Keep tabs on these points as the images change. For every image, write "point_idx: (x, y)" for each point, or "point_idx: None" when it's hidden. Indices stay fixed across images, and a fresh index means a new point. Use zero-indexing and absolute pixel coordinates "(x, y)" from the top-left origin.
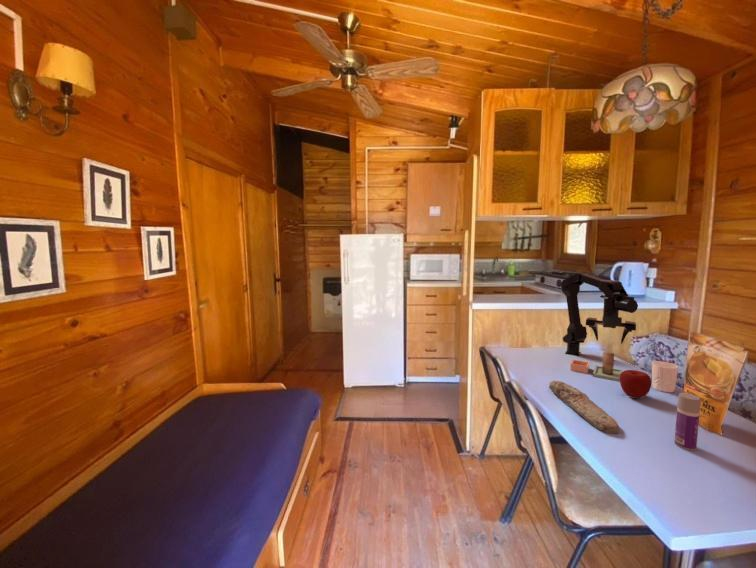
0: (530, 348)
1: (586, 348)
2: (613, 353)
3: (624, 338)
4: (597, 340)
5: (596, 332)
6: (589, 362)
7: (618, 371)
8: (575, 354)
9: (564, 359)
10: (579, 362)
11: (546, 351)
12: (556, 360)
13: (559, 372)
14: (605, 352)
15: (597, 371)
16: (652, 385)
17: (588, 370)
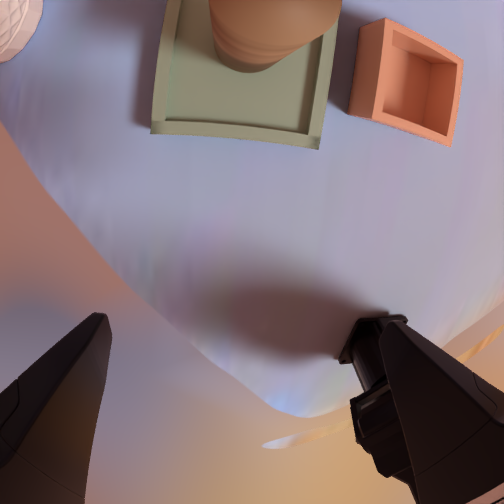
0: (484, 311)
1: (301, 408)
2: (213, 8)
3: (31, 366)
4: (393, 320)
5: (473, 394)
6: (373, 114)
7: (175, 115)
8: (373, 323)
9: (430, 244)
10: (418, 125)
11: (455, 310)
12: (462, 212)
13: (466, 38)
14: (313, 14)
15: (310, 52)
16: (38, 6)
17: (358, 69)
